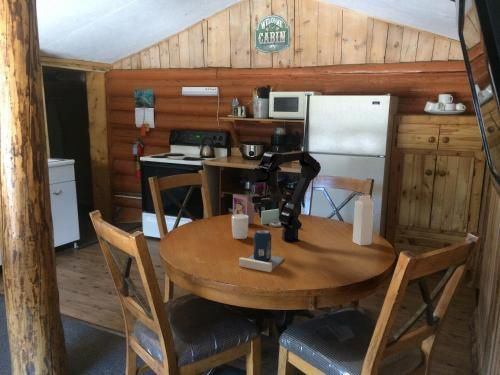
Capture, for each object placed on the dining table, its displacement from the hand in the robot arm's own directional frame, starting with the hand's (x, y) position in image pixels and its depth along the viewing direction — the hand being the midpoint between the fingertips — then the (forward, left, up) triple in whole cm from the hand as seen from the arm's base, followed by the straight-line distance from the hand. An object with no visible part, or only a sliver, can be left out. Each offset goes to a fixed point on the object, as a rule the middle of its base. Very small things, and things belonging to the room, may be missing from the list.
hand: (270, 216), depth 181 cm
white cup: (+9, -15, -13) cm, 22 cm away
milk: (-41, +10, -13) cm, 44 cm away
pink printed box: (0, -36, -13) cm, 38 cm away
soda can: (+10, +17, -13) cm, 24 cm away
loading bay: (+10, +18, -13) cm, 24 cm away
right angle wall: (-15, -27, -14) cm, 34 cm away
